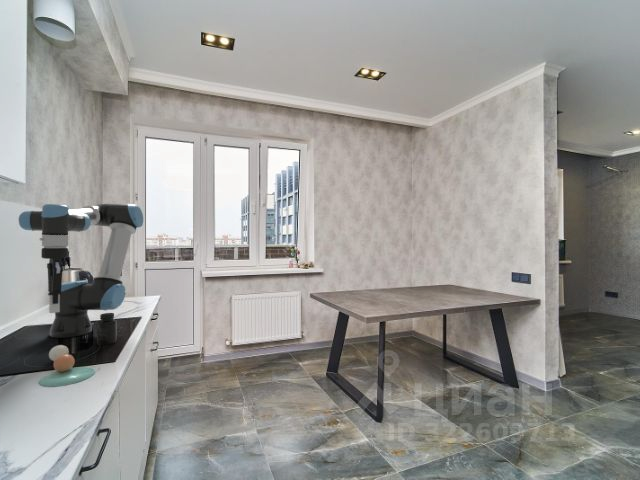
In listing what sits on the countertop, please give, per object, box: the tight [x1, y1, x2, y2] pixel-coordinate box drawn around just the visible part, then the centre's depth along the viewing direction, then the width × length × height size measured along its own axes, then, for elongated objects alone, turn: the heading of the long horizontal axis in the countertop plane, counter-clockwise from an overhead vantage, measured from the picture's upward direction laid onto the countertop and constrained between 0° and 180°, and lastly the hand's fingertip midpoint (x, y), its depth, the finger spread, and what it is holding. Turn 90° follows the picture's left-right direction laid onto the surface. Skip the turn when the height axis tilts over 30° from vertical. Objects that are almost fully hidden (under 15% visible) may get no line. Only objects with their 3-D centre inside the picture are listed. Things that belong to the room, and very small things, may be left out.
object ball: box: [53, 353, 76, 372], centre depth 107 cm, size 6×6×6 cm
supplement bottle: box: [96, 312, 118, 346], centre depth 135 cm, size 7×7×12 cm
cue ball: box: [48, 344, 70, 362], centre depth 115 cm, size 6×6×6 cm
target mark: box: [38, 366, 96, 388], centre depth 103 cm, size 14×14×1 cm
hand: (54, 312), depth 118 cm, fingers closed
